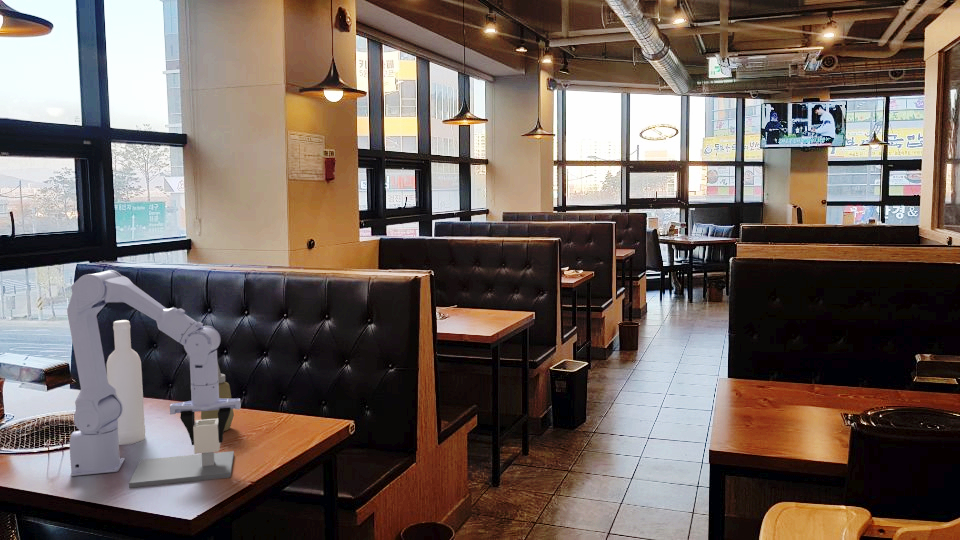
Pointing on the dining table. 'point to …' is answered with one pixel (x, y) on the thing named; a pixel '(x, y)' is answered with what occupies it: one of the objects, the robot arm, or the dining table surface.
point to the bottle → (127, 384)
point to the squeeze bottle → (223, 394)
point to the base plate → (182, 469)
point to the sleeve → (206, 436)
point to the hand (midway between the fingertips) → (207, 442)
